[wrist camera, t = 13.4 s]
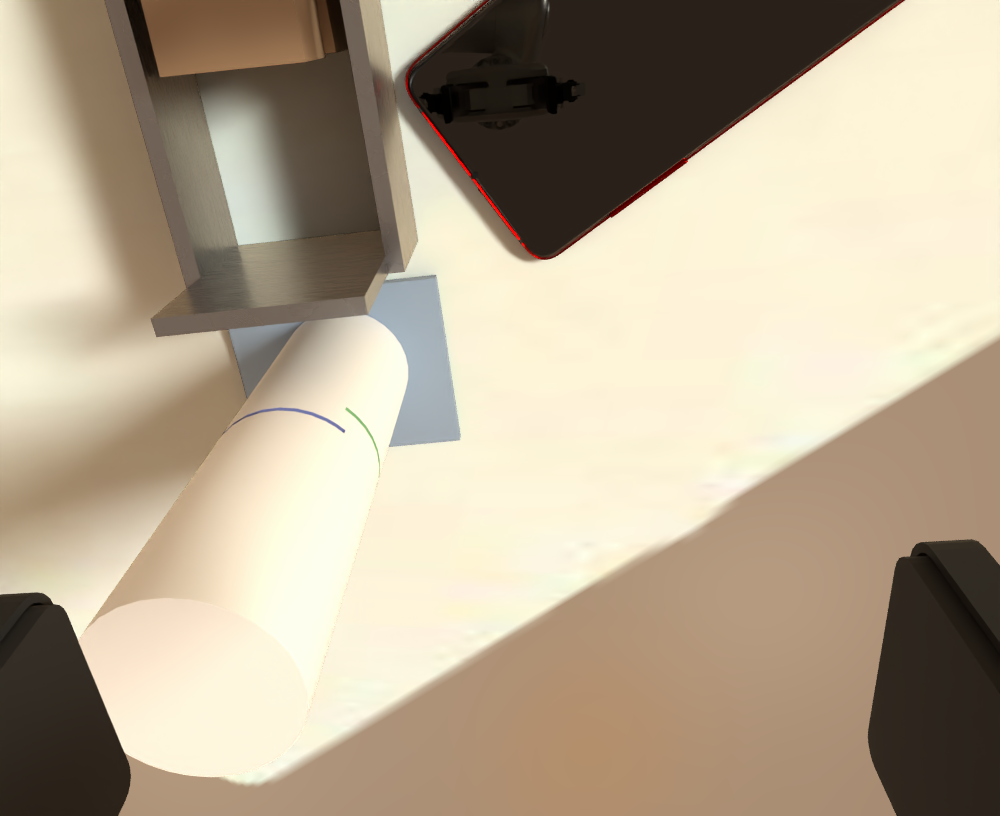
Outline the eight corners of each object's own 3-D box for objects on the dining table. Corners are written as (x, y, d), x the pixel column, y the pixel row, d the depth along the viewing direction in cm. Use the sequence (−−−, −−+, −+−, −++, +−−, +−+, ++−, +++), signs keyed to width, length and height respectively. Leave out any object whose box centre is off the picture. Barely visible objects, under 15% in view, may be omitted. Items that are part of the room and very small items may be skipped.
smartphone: (980, -50, 38) (540, 273, 45) (963, -48, 40) (539, 265, 46) (855, -322, 34) (390, 78, 40) (841, -308, 35) (394, 76, 42)
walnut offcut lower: (187, -46, 39) (150, -53, 35) (332, -67, 39) (310, -77, 35) (216, 67, 42) (183, 73, 37) (353, 48, 41) (336, 52, 37)
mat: (224, 297, 47) (220, 301, 46) (436, 274, 46) (435, 278, 45) (265, 454, 51) (263, 458, 50) (460, 435, 50) (459, 440, 49)
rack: (127, -122, 38) (-27, -176, 27) (355, -154, 37) (290, -223, 26) (227, 261, 46) (137, 338, 35) (417, 240, 45) (387, 312, 34)
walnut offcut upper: (164, -56, 35) (124, -64, 32) (303, -71, 35) (279, -81, 31) (194, 71, 37) (159, 77, 34) (325, 57, 37) (305, 62, 33)
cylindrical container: (316, 287, 46) (116, 558, 23) (430, 349, 47) (348, 663, 24) (263, 388, 48) (39, 720, 26) (373, 445, 50) (252, 806, 27)
